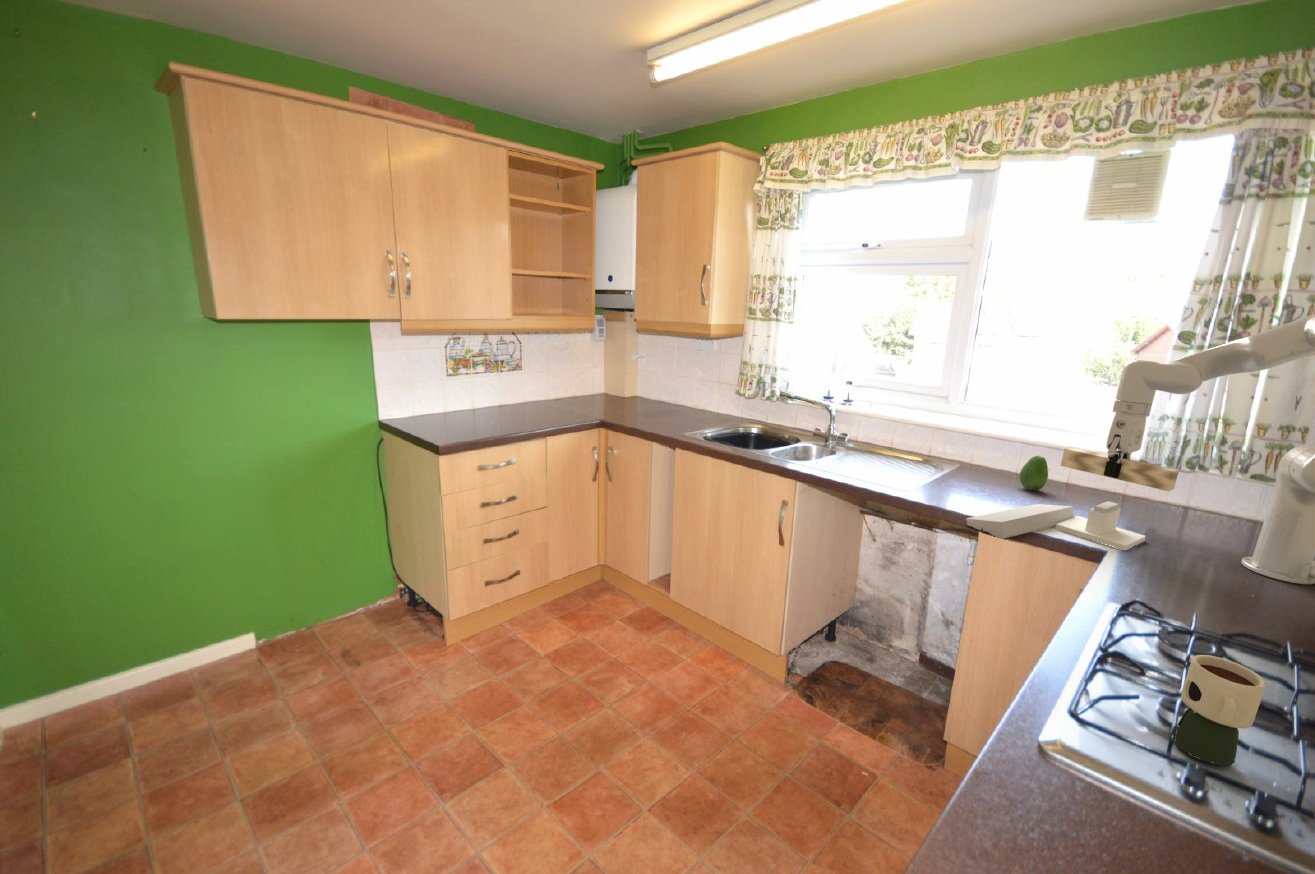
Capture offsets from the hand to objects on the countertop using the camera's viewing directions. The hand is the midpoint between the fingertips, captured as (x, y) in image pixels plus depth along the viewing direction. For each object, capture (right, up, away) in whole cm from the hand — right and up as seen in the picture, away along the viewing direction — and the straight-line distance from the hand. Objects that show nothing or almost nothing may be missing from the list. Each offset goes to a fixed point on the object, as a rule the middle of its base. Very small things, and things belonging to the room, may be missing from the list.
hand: (1114, 474), depth 153 cm
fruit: (+5, -8, +42) cm, 43 cm away
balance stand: (-1, -17, +4) cm, 17 cm away
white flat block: (-19, -15, +10) cm, 26 cm away
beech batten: (0, 0, 0) cm, 0 cm away
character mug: (-47, -33, -74) cm, 94 cm away
